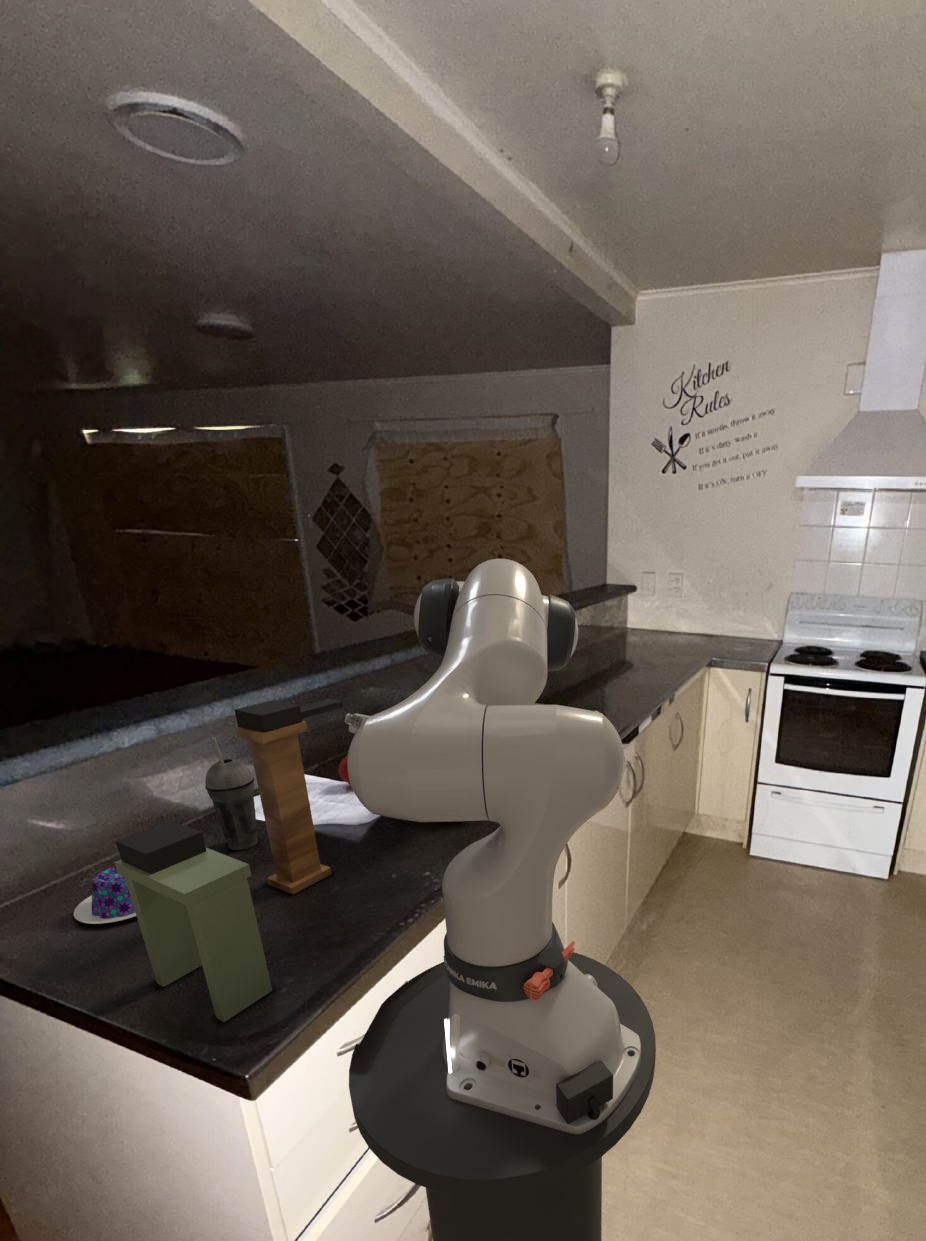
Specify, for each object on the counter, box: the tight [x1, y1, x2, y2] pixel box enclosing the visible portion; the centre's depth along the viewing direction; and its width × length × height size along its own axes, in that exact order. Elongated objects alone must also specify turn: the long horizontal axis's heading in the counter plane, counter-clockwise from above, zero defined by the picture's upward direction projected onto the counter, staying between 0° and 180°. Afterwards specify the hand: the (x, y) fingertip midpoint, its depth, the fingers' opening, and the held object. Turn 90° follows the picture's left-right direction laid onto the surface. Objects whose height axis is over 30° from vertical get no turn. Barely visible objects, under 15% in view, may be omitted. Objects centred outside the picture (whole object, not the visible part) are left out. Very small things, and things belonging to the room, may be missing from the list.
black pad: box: [234, 698, 344, 733], centre depth 94 cm, size 6×14×2 cm, turn 151°
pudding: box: [72, 866, 137, 925], centre depth 92 cm, size 12×12×5 cm
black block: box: [115, 820, 207, 874], centre depth 71 cm, size 6×6×2 cm
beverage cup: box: [204, 736, 259, 851], centre depth 107 cm, size 7×7×20 cm
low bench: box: [114, 847, 273, 1023], centre depth 73 cm, size 14×7×17 cm, turn 61°
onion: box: [338, 750, 351, 785], centre depth 134 cm, size 6×6×8 cm
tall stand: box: [234, 720, 333, 895], centre depth 95 cm, size 6×7×26 cm
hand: (367, 722), depth 106 cm, fingers open, 8 cm apart
